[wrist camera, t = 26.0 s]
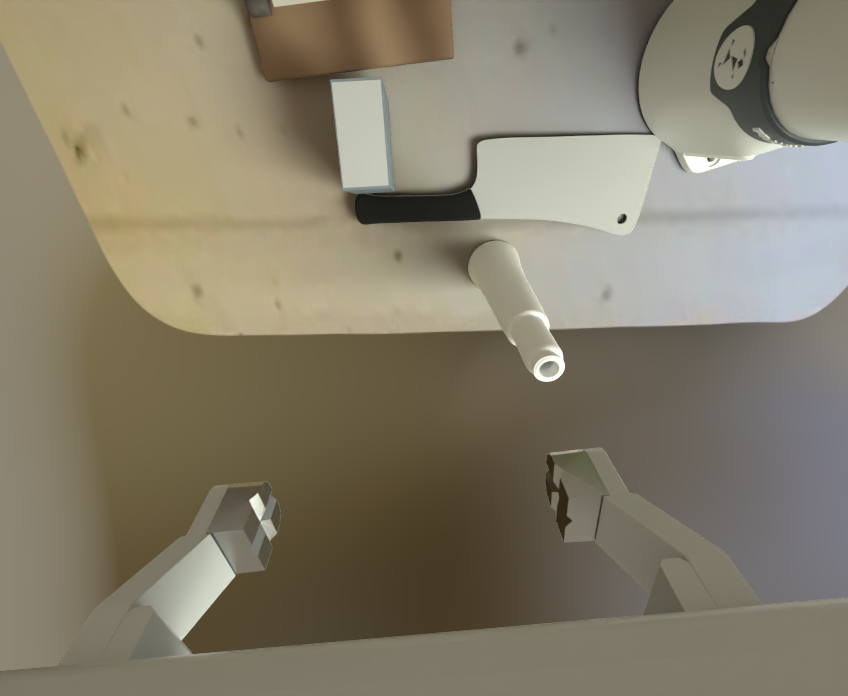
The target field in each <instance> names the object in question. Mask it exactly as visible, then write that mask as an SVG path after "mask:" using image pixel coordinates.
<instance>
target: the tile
mask: <svg viewBox="0 0 848 696" xmlns="http://www.w3.org/2000/svg"><path fill="white" fill-rule="evenodd" d="M316 1H324V0H272V2H273V5H274V7H279V6H286V5H294V4H301V3H309V2H316Z"/></svg>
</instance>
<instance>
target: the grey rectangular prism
mask: <svg viewBox="0 0 848 696" xmlns="http://www.w3.org/2000/svg"><path fill="white" fill-rule="evenodd" d="M330 85H331V94H332V103H333V112H334V121H335V130H336V138H337V147H338V156H339V165H340V174H341V183H342V191H346V192H350V193H353V194H368V193H385V192H395V187H394V174H393V160H392V146H391V132H390V118H389V104H388V99H387V96H386V92H385V88H384V84H383V80H382V77H366V78H348V79H331V80H330Z"/></svg>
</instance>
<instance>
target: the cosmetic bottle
mask: <svg viewBox="0 0 848 696" xmlns="http://www.w3.org/2000/svg"><path fill="white" fill-rule="evenodd" d="M468 272H469V276H470V278H471V280H472V281H473V283H474V284H475V285H476V286H478V288H479V289H480V290H481V291H482V293H483V294H484V296H485V298H486V299H487V301H488V303H489V305H490V307H491V309H492V311H493V312H494V314H495V316H496V318H497V320H498V322H499V324H500V326H501V327H502V329H503V331H504V333H505V334H506V336H507V338H508V340H509V341H510V342H511V343H512V344H513V345H515V346H517V348H518V350H519V352H520V354H521V357H522V359H523V361H524V363H525V365H526V367H527V369H528V370H529V371H530V372H531V373H533V374H534V376H535V377H536V378H537V379H538V380H540V381H545V382H546V381H547V382H548V381H553V380H555V379H557V378H558V377H560V376H561V374H562V373H563V371H564V368H565V364H564V361H563V353H562V351H561V349H560V347H559V346H558V344H557V343H556V341H555V339H554V338H553V336H552V335H551V333H550V331H549V321H548V319H547V316H546V314H545V312H544V310H543V308H542V306H541V305H540V303H539V301H538V299H537V297H536V295H535V293H534V292H533V290H532V288H531V286H530V284H529V283H528V281H527V279H526V277H525V275H524V272H523V270H522V268H521V264H520V259H519V255H518V253H517V251H516V250H515V248H514V247H513V246H511V245H510V244H508V243H506V242H503V241H497V240H496V241H489V242H486V243H484V244H482V245H481V246H479V247H478V248H477V249H476V250H475V251H474V252H473V254H472V255H471V257H470V260H469V264H468Z"/></svg>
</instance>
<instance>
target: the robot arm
mask: <svg viewBox="0 0 848 696" xmlns="http://www.w3.org/2000/svg"><path fill="white" fill-rule="evenodd" d="M639 101H640V106H641V111H642V114H643V117H644V119H645V121H646V123H647V125H648V127H649V128H650V130H651V131H652V132H653V134H654V135H655V136H656V137H657V138H658V139H660V140H661V141H662V142H664V143H665V144H667V145H668V146H669V147H671V148H672V149H673V150H674V151H675V153H676V155H677V158H678V160H679V162H680V164H681V166H682V168H683V169H684V170H685V171H686V172H688V173H701V172H705V171H708V170H711V169H714V168H718V167H721V166H724V165H727V164H730V163H734V162H737V161H740V160H751V159H753V158H754V156H756V155H759V154H762V153H766V152H769V151H772V150H775V149H778V148H782V147H785V146H790V147H804V146H818V145H825V144H830V143H835V142H838V141H842V142H848V0H674V1H673V2H672V3H671V4H670V6H669V7H668V8H667V10H666V11H665V12H664V14H663V15H662V17H661V18H660V20H659V22H658V23H657V25H656V27H655V29H654V31H653V33H652V35H651V37H650V39H649V42H648V44H647V47H646V50H645V53H644V56H643V60H642V64H641V69H640V76H639ZM707 158H710V159H709V160H708V161H707ZM546 463H547V466H548V469H549V471H548V472H547V473H546V474H545V475H546V476H545V484H546V492H547V496H548V499H549V503H550V506H551V507H552V508H553V509H554V510H555V511H557V515H556V522H557V525H558V528H559V530H560V533H561V536H562V539H563V542H579V541H593V540H594V541H595V542H596V543H597V544H598V545H599V546H600V547H601V548H602V549H603V550H604V551H605V552H606V553H607V554H608V555H609V556H610V557H611V558H612V559H613V560H614V561H616V562H617V563H618V564H619V565H620V566H621V567H622V568H623V569H624V570H625V571H626V572H627V573H628V574H629V575H630V576H631V577H632V578H634V580H636V581H637V582H638V583H639V584H640V585H641V586H642V587H643V588H644V589H645V590H646V591H647V592H648V593H649V594H650V596H649V599H648V602H647V605H646V608H645V611H644V614H643V615H640V616H629V617H617V618H606V619H594V620H583V621H571V622H559V623H548V624H536V625H525V626H513V627H502V628H491V629H479V630H467V631H456V632H444V633H433V634H421V635H410V636H398V637H387V638H375V639H364V640H353V641H341V642H331V643H319V644H308V645H297V646H284V647H273V648H261V649H250V650H239V651H227V652H215V653H205V654H192V652H191V651H190V650H189V649H188V648H187V647H186V645H185V644H184V643H183V642H182V641H181V640H182V639H183V638H184V637H185V636H186V634H187V633H188V632H189V631H190V629H191V628H192V627H193V626H194V625H195V623H196V622H197V621H198V620H199V619H200V618H201V616H202V615H203V614H204V613H205V612H206V610H207V609H208V608H209V607H210V606H211V604H212V603H213V602H214V601H215V600H216V598H217V597H218V596H219V595H220V593H221V592H222V591H223V590H224V589H225V588H226V586H227V585H228V584H229V583H230V582H231V580H232V579H233V578H234V577H235V574H238V573H246V572H254V571H261V570H265V569H266V566H267V563H268V560H269V557H270V553H271V551H272V546H271V544H270V540H271V539H272V538H273V537H274V536H275V535H276V534H277V531H278V528H279V525H280V514H281V513H280V507H279V504H278V501H277V500H276V499H275V498H273V497H271V496H270V495H271V492H272V488H271V486H270V484H269V482H255V483H240V484H230V485H217V486H214V487H213V488H212V489H211V490H210V492H209V494H208V496H207V497H206V499H205V501H204V503H203V505H202V507H201V509H200V510H199V512H198V514H197V516H196V518H195V520H194V522H193V524H192V525H191V527H190V529H189V531H188V533H187V535H186V536H182V537H180V538H179V539H177V540H176V541H175V542H174V543H173V544H171V545H170V546H169V547H168V548H166V549H165V550H164V551H163V552H162V553H161V554H159V555H158V556H157V557H156V558H154V559H153V560H152V561H151V562H150V563H149V564H147V565H146V566H145V567H144V568H143V569H141V570H140V571H139V572H138V573H137V574H135V575H134V576H133V577H132V578H131V579H129V580H128V581H127V582H126V583H125V584H123V585H122V586H121V587H120V588H119V589H117V590H116V591H115V592H114V593H113V594H111V595H110V596H109V597H108V598H107V599H105V600H104V601H103V602H102V603H101V604H99V605H98V606H97V607H96V608H95V609H94V610H93V611H92V613H91V614H90V616H89V618H88V619H87V621H86V622H85V624H84V626H83V627H82V629H81V630H80V632H79V633H78V635H77V636H76V638H75V640H74V641H73V643H72V644H71V646H70V647H69V649H68V651H67V652H66V654H65V655H64V657H63V658H62V660H61V661H60V663H59V665H58V666H53V667H42V668H30V669H18V670H7V671H0V696H848V597H846V598H834V599H823V600H812V601H801V602H789V603H777V604H766V605H763V604H762V603H761V602H760V600H759V599H758V597H757V596H756V595H755V593H754V592H753V590H752V589H751V587H750V586H749V585H748V583H747V582H746V580H745V579H744V578H743V576H742V575H741V574H740V572H739V571H738V569H737V568H736V566H735V565H734V564H733V562H732V561H731V559H730V558H729V557H728V555H727V554H726V552H724V551H723V550H721V549H720V548H718V547H716V546H715V545H713V544H712V543H710V542H709V541H707V540H706V539H704V538H703V537H701V536H699V535H698V534H697V533H695V532H694V531H692V530H691V529H689V528H688V527H686V526H684V525H683V524H681V523H680V522H678V521H677V520H675V519H674V518H672V517H671V516H669V515H668V514H666V513H665V512H663V511H661V510H660V509H659V508H657V507H655V506H654V505H652V504H651V503H649V502H648V501H646V500H645V499H643V498H642V497H640V496H639V495H637V494H636V493H629V492H628V490H627V488H626V486H625V485H624V483H623V481H622V480H621V478H620V476H619V474H618V473H617V471H616V469H615V468H614V466H613V464H612V462H611V461H610V459H609V457H608V456H607V454H606V452H605V451H604V449H602V448H592V449H583V450H582V449H581V450H572V451H563V452H554V453H548V455H547V460H546Z"/></svg>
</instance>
